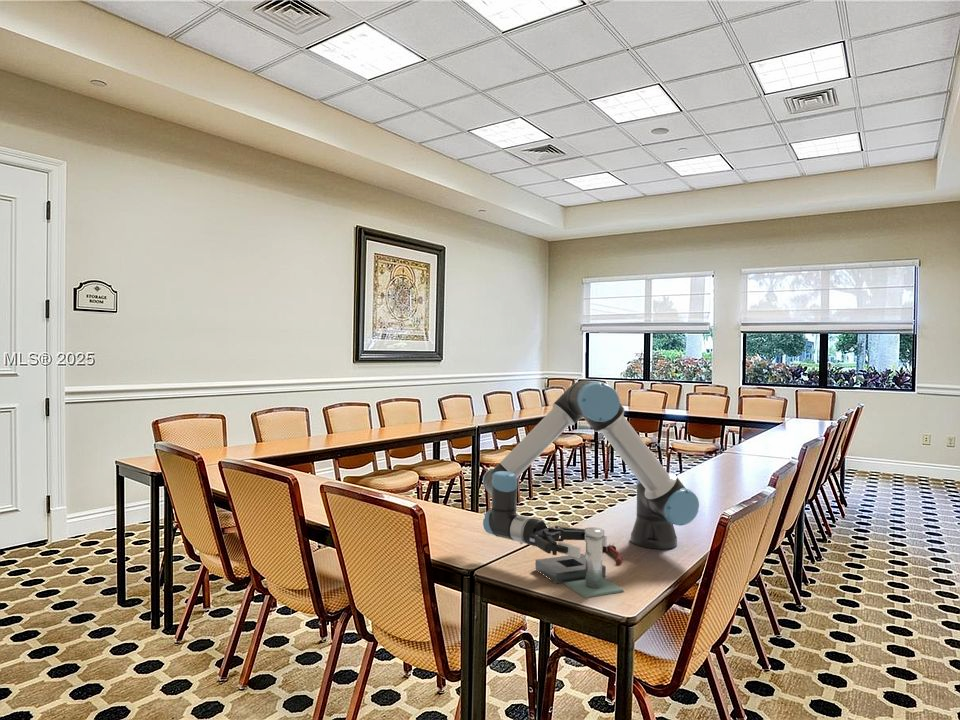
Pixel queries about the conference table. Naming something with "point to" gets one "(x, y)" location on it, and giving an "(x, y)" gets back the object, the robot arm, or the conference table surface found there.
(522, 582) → the conference table surface
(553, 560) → the socket plate
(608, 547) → the pliers
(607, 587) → the rubber mat
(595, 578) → the steel pin
